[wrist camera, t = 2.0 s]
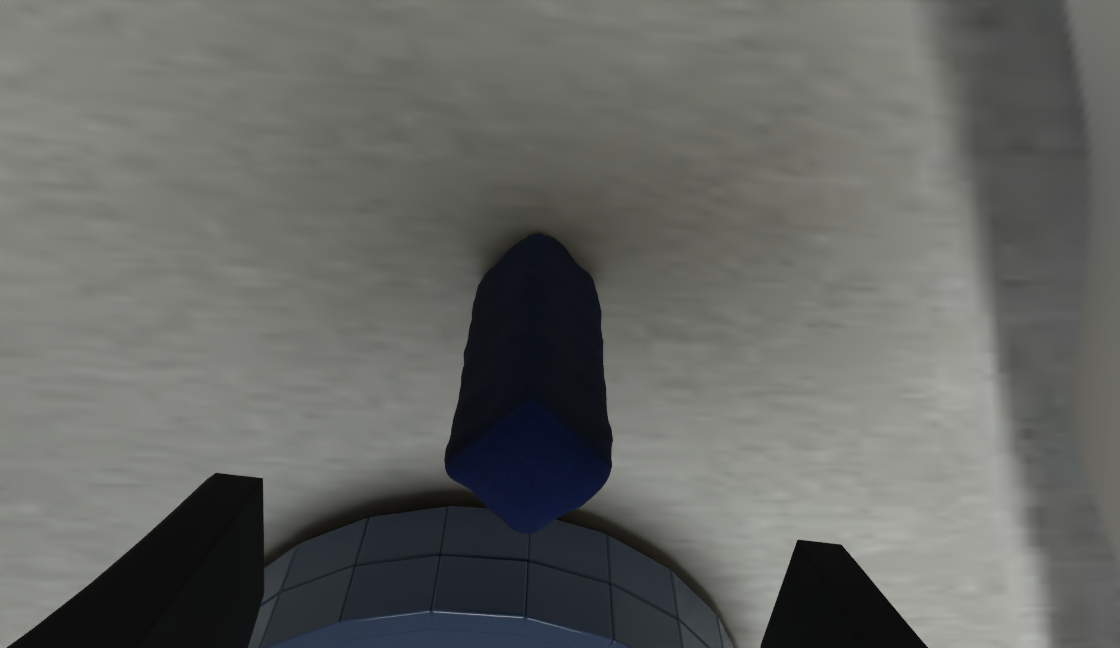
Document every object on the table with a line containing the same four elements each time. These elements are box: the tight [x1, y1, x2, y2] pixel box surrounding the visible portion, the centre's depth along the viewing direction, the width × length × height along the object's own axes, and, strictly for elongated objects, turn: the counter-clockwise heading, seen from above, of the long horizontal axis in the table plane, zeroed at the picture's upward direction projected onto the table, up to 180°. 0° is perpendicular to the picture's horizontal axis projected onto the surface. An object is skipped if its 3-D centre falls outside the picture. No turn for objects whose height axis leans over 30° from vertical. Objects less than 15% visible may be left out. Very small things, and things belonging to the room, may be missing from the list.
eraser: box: [444, 234, 613, 534], centre depth 17 cm, size 2×2×7 cm
